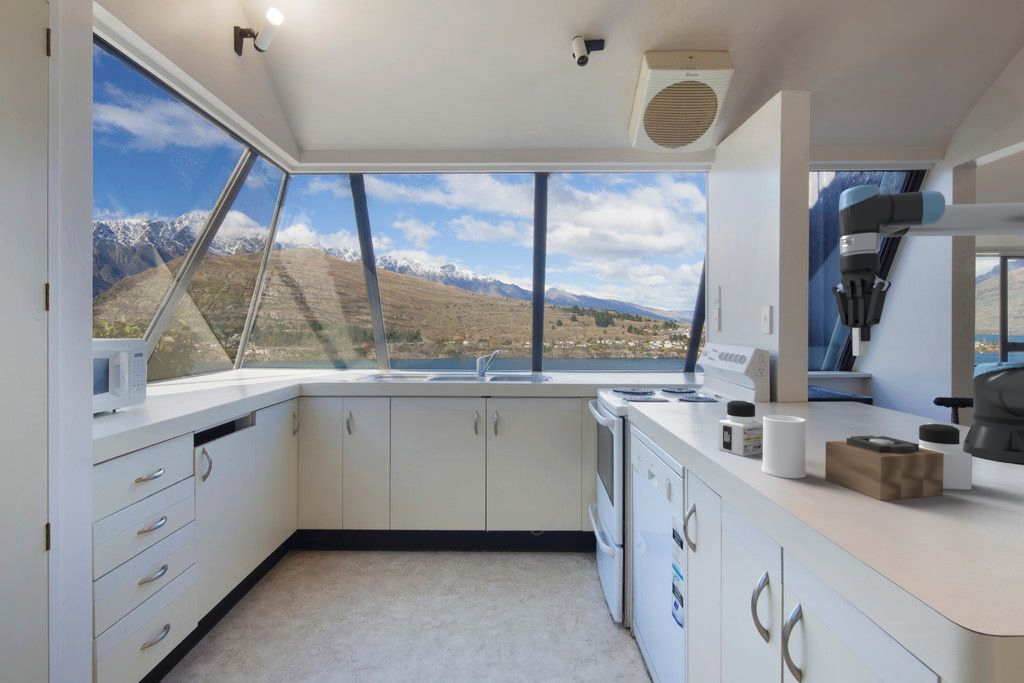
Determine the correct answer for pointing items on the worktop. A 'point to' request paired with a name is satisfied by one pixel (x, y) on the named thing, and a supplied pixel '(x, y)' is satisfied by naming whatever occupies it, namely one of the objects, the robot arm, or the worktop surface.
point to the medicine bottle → (948, 454)
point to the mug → (784, 446)
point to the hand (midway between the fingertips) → (860, 355)
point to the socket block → (884, 468)
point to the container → (741, 430)
